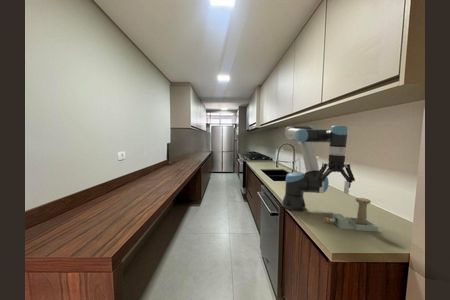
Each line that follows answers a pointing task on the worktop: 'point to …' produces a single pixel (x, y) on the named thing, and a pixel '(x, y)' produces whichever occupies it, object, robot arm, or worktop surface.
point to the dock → (353, 223)
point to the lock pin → (330, 220)
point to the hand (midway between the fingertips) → (333, 193)
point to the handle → (362, 210)
